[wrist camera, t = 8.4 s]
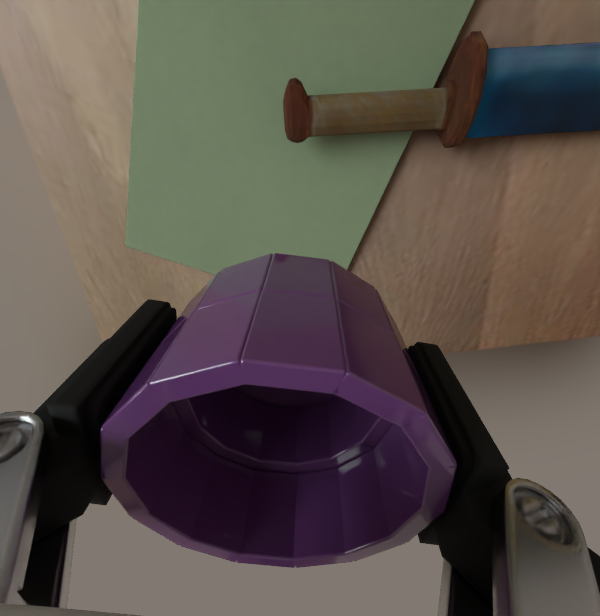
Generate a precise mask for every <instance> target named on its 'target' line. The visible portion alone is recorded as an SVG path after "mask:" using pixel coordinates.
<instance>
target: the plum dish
mask: <svg viewBox="0 0 600 616" xmlns="http://www.w3.org/2000/svg"><path fill="white" fill-rule="evenodd" d="M456 468H457V464H456V459H455V457H454V455H453V452H452V450H451V448H450V446H449V443H448V441H447V439H446V436H445V434H444V432H443V430H442V427H441V425H440V423H439V420H438V418H437V416H436V414H435V411H434V409H433V407H432V404H431V402H430V400H429V398H428V395H427V393H426V391H425V388H424V386H423V384H422V382H421V379H420V377H419V376H418V373H417V370H416V368H415V366H414V364H413V361H412V359H411V357H410V354H409V352H408V350H407V348H406V345H405V343H404V341H403V338H402V336H401V334H400V332H399V329H398V327H397V325H396V323H395V321H394V319H393V318H392V316H391V314H390V312H389V310H388V309H387V307H386V305H385V303H384V301H383V300H382V298H381V296H380V294H379V292H378V291H377V290H375V288H374V287H373V286H372V285H370V284H368V283H367V282H365V281H364V280H362V279H361V278H359V277H357V276H356V275H354V274H353V273H351V272H349V271H348V270H346V269H345V268H343V267H341V266H340V265H338V264H337V263H335V262H333V261H330V260H328V259H320V258H312V257H304V256H296V255H288V254H279V253H274V254H267V255H264V256H261V257H258V258H255V259H252V260H248V261H245V262H242V263H239V264H236V265H233V266H230V267H227V268H224V269H222V270H221V271H219V272H218V273H217V274H216V275H215V276H214V277H213V278H212V279H211V280H210V281H209V282H208V283H207V284H206V285H205V286H204V287H203V288H202V289H201V291H200V292H199V293H198V294H197V295H196V296H195V297H194V298H193V299H192V300H191V301H190V302H189V304H188V305H187V306H186V308H185V309H184V311H183V312H182V314H181V315H180V316H179V318H178V319H177V321H176V322H175V323H174V325H173V326H172V328H171V329H170V330H169V332H168V333H167V335H166V336H165V338H164V339H163V340H162V342H161V343H160V346H159V347H158V348H157V349H156V350H155V351H154V353H153V354H152V356H151V357H150V358H149V360H148V361H147V363H146V364H145V365H144V367H143V368H142V370H141V371H140V372H139V374H138V375H137V377H136V378H135V380H134V381H133V382H132V384H131V385H130V387H129V388H128V389H127V391H126V392H125V394H124V395H123V396H122V398H121V399H120V401H119V402H118V404H117V405H116V406H115V408H114V409H113V411H112V412H111V413H110V415H109V416H108V418H107V419H106V420H105V422H104V423H103V425H102V428H101V432H100V476H101V479H102V481H103V482H104V483H105V485H106V486H107V487H108V489H109V490H110V491H111V492H112V494H113V495H114V496H115V498H116V499H117V500H118V502H119V503H120V504H121V505H122V507H123V508H124V509H125V511H126V512H127V513H128V515H129V516H131V517H132V518H133V519H135V520H137V521H138V522H140V523H142V524H143V525H145V526H147V527H148V528H150V529H152V530H154V531H155V532H157V533H159V534H160V535H162V536H164V537H165V538H167V539H169V540H171V541H172V542H174V543H176V544H177V545H180V546H182V547H185V548H189V549H192V550H195V551H199V552H203V553H206V554H209V555H212V556H216V557H219V558H223V559H226V560H230V561H233V562H238V563H248V564H259V565H270V566H281V567H292V568H294V567H297V568H298V567H308V566H317V565H326V564H336V563H346V562H352V561H357V560H360V559H363V558H366V557H368V556H371V555H374V554H376V553H380V552H382V551H385V550H388V549H391V548H393V547H396V546H399V545H402V544H405V543H406V542H409V541H410V540H411V539H412V538H414V537H415V536H416V535H417V534H418V533H420V532H421V531H422V530H423V529H424V528H426V527H427V526H428V525H429V524H430V523H432V522H433V521H434V520H435V519H436V518H438V517H439V516H440V515H441V514H442V513H444V511H445V509H446V507H447V503H448V499H449V495H450V491H451V488H452V484H453V480H454V476H455V472H456Z"/></svg>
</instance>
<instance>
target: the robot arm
mask: <svg viewBox="0 0 600 616" xmlns="http://www.w3.org/2000/svg"><path fill="white" fill-rule="evenodd" d="M176 321H177V316H176V309H175V308H171V306H170V303H168V302H163V301H157V300H147V301H146V302H145V303H144V304H143V305H142V306H141V307H140V308H139V309H138V310H137V311H136V312H135V313H134V314H133V315H132V316H131V317H130V318H129V319H128V320H127V321H126V322H125V323H124V324H123V325H122V326H121V327H120V329H119V330H118V331H117V332H116V333H115V334H114V335H113V336H112V337H111V338H110V339H107V340H106V341H104V342H103V343H102V344H101V345H100V346H99V347H98V348H97V349H96V350H95V351H94V352H93V353H92V354H91V355H90V356H89V357H88V358H87V359H86V360H85V361H84V362H83V363H82V364H81V365H80V366H79V367H78V368H77V370H75V371H74V372H73V374H71V375H70V377H69V378H68V379H67V380H66V381H65V382H64V383H63V384H62V385H61V386H60V387H59V388H58V389H57V390H56V391H55V392H54V393H53V394H52V395H51V396H50V397H49V398H48V399H47V400H46V401H45V402H44V403H43V404H42V405H41V406H40V407H39V408H38V409H37V410H36V411H35V412H34V413H31V412H23V411H14V412H5V413H1V414H0V616H139V615H127V614H117V613H107V612H96V611H85V610H75V609H67V602H68V593H69V584H70V574H71V566H72V556H73V547H74V539H75V530H76V521H77V517H79V516H81V515H83V513H84V512H85V510H86V508H87V507H88V505H89V503H92V504H101V505H106V504H107V502H108V501H109V499H110V497H111V495H112V492H111V491H110V490H109V489H108V487H107V486H106V485H105V483H104V482H103V481H102V479H101V476H100V432H101V428H102V425H103V423H104V422H105V420H106V419H107V418H108V416H109V415H110V413H111V412H112V411H113V409H114V408H115V406H116V405H117V404H118V402H119V401H120V399H121V398H122V396H123V395H124V394H125V392H126V391H127V389H128V388H129V387H130V385H131V384H132V382H133V381H134V380H135V378H136V377H137V375H138V374H139V372H140V371H141V370H142V368H143V367H144V365H145V364H146V363H147V361H148V360H149V358H150V357H151V356H152V354H153V353H154V351H155V350H156V349H157V348H158V347H159V346H160V343H161V342H162V340H163V339H164V338H165V336H166V335H167V333H168V332H169V330H170V329H171V328H172V326H173V325H174V323H175V322H176ZM408 352H409V354H410V357H411V359H412V361H413V364H414V366H415V368H416V370H417V373H418V376H419V377H420V379H421V382H422V384H423V386H424V388H425V391H426V393H427V395H428V398H429V400H430V402H431V404H432V407H433V409H434V411H435V414H436V416H437V418H438V420H439V423H440V425H441V427H442V430H443V432H444V434H445V436H446V439H447V441H448V443H449V446H450V448H451V450H452V452H453V455H454V457H455V459H456V464H457V468H456V472H455V476H454V480H453V484H452V488H451V491H450V495H449V499H448V503H447V507H446V509H445V511H444V513H442V514H441V515H440V516H439V517H438V518H436V519H435V520H434V521H433V522H432V523H430V524H429V525H428V526H427V527H426V528H424V529H423V530H422V531H421V532H420V533H418V537H419V540H420V543H426V544H434V545H439V548H440V551H441V554H442V557H443V558H444V562H443V571H442V581H441V589H440V598H439V608H438V616H600V556H598V555H597V554H596V553H595V552H593V551H592V550H591V549H589V548H588V547H587V544H586V540H585V536H584V534H583V531H582V529H581V526H580V524H579V522H578V521H577V519H576V518H575V516H574V515H573V513H572V512H571V511H570V510H569V508H568V507H567V506H566V505H565V504H564V503H563V502H562V501H561V500H560V499H559V498H558V497H557V496H555V495H554V494H553V493H552V492H551V491H549V490H547V489H546V488H544V487H543V486H541V485H539V484H537V483H535V482H532V481H530V480H528V479H521V478H516V479H512V478H511V476H510V474H509V473H508V471H507V470H508V469H509V467H508V465H507V463H506V462H505V460H504V458H503V456H502V455H501V453H500V451H499V450H498V448H497V446H496V444H495V443H494V441H493V440H492V438H491V436H490V434H489V432H488V431H487V429H486V427H485V426H484V424H483V422H482V421H481V419H480V417H479V415H478V414H477V412H476V410H475V408H474V407H473V405H472V403H471V402H470V400H469V398H468V396H467V395H466V393H465V391H464V390H463V388H462V386H461V385H460V383H459V381H458V379H457V378H456V376H455V374H454V373H453V371H452V369H451V367H450V366H449V364H448V362H447V361H446V359H445V357H444V355H443V354H442V352H441V350H440V349H439V347H438V346H437V345H434V344H428V343H422V342H417V343H416V344H415V345H414V346H410V347H409V348H408Z"/></svg>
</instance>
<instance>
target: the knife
mask: <svg viewBox="0 0 600 616" xmlns="http://www.w3.org/2000/svg"><path fill="white" fill-rule="evenodd" d="M283 112H284V126H285V132H286V136H287V139H288V140H290V141H291V142H294V143H300V142H303V141H304V140H306V139H307V138H308V137H317V136H334V135H351V134H367V133H384V132H401V131H418V130H435V129H436V130H437V131H438V136H439V138H440V140H441V142H442V144H443V146H444V148H449V147H454V146H457V145H460V144H461V143H463V141H464V139H465V138H474V137H491V136H508V135H525V134H541V133H558V132H575V131H592V130H600V42H597V43H579V44H562V45H544V46H527V47H509V48H491V49H488V45H487V42H486V40H485V38H484V36H483V34H482V33H481V31H477V32H471V33H470V35H469V36H468V37H467V38H466V40H465V41H464V42H463V43H462V45H461V46H460V47H459V48H458V50H457V52H456V55H455V57H454V60H453V62H452V65H451V67H450V70H449V72H448V75H447V79H446V83H445V84H444V86H443V88H428V89H411V90H394V91H376V92H359V93H342V94H325V95H307V93H306V91H305V89H304V87H303V84H302V82H301V81H300V80H298V79H297V78H292V79H289V81H288V84H287V87H286V89H285V94H284V99H283Z"/></svg>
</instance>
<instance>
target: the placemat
mask: <svg viewBox="0 0 600 616" xmlns="http://www.w3.org/2000/svg"><path fill="white" fill-rule="evenodd" d="M474 2H475V0H139V8H138V26H137V44H136V62H135V80H134V98H133V115H132V133H131V151H130V169H129V187H128V205H127V223H126V241H125V246H127V247H130V248H133V249H136V250H139V251H142V252H146V253H149V254H152V255H155V256H158V257H161V258H164V259H167V260H170V261H173V262H176V263H179V264H183V265H186V266H189V267H192V268H195V269H198V270H201V271H204V272H207V273H210V274H213V275H216V274H217V273H218V272H219V271H221V270H222V269H224V268H227V267H230V266H233V265H236V264H239V263H242V262H245V261H248V260H252V259H255V258H258V257H261V256H264V255H267V254H274V253H279V254H288V255H296V256H304V257H312V258H320V259H328V260H330V261H333V262H335V263H337V264H338V265H340V266H341V267H343V268H345V269H346V270H347V269H348V267H349V265H350V263H351V260H352V258H353V256H354V254H355V252H356V250H357V248H358V246H359V244H360V242H361V239H362V237H363V235H364V233H365V231H366V229H367V227H368V225H369V223H370V220H371V218H372V216H373V214H374V212H375V210H376V208H377V206H378V204H379V202H380V199H381V197H382V195H383V193H384V191H385V189H386V187H387V185H388V183H389V180H390V178H391V176H392V174H393V172H394V170H395V168H396V166H397V164H398V162H399V159H400V157H401V155H402V153H403V151H404V149H405V147H406V145H407V143H408V141H409V138H410V136H411V134H412V132H413V131H401V132H384V133H367V134H351V135H334V136H317V137H308V138H307V139H306V140H304V141H303V142H300V143H294V142H291V141H290V140H288V139H287V136H286V132H285V126H284V112H283V99H284V94H285V89H286V87H287V84H288V81H289V79H292V78H297V79H298V80H300V81H301V82H302V84H303V87H304V89H305V91H306V93H307V95H325V94H342V93H359V92H376V91H394V90H411V89H428V88H434V86H435V84H436V82H437V79H438V77H439V75H440V73H441V71H442V69H443V67H444V65H445V63H446V61H447V58H448V56H449V54H450V52H451V50H452V48H453V46H454V44H455V42H456V39H457V37H458V35H459V33H460V31H461V29H462V27H463V25H464V23H465V21H466V18H467V16H468V14H469V12H470V10H471V8H472V6H473V4H474Z"/></svg>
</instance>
